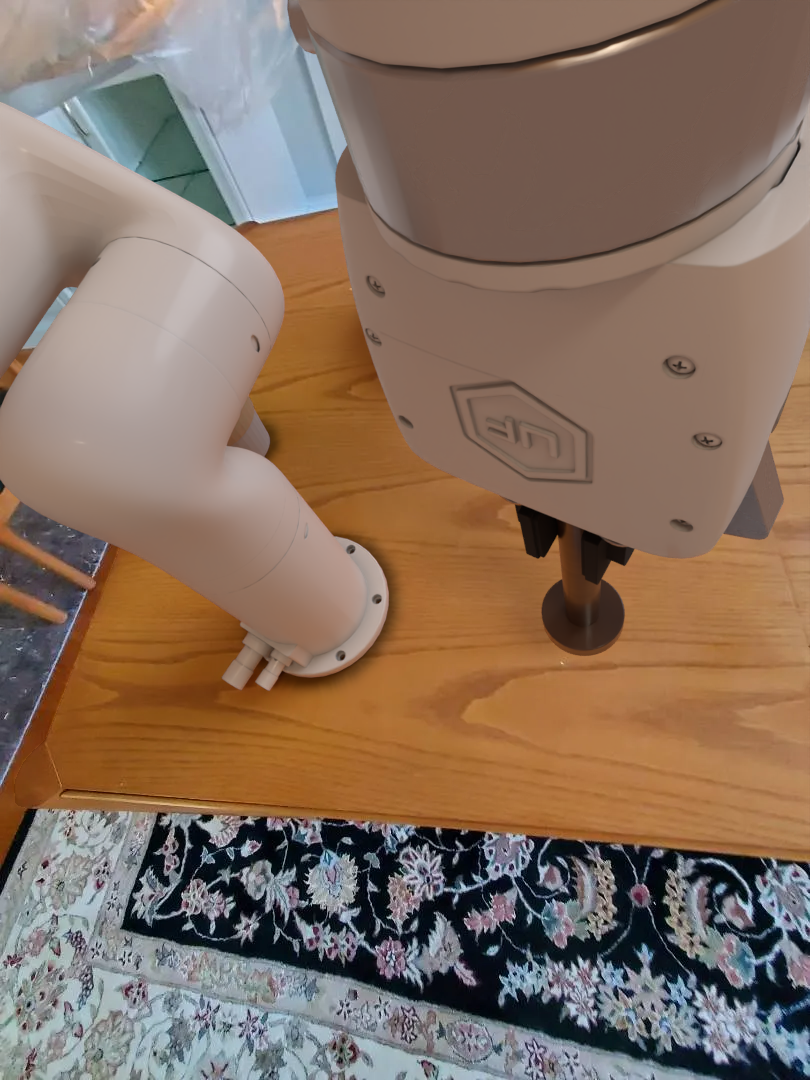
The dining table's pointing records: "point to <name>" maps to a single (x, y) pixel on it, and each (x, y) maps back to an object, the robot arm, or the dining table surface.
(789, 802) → the dining table surface
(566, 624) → the muddler
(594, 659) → the dining table surface
